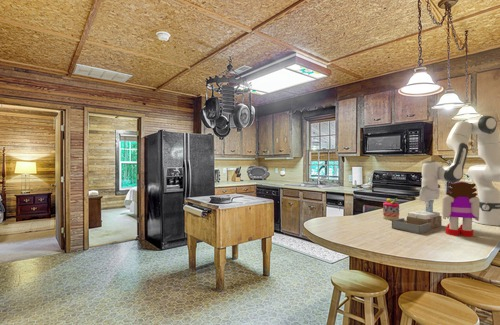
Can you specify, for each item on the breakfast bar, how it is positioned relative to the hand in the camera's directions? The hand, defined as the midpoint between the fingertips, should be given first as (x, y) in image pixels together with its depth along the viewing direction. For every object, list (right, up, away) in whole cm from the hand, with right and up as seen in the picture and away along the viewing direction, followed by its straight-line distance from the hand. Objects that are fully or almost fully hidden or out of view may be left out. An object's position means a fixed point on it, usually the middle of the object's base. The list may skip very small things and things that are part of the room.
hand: (429, 206), depth 180 cm
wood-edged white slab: (-6, -11, -4) cm, 13 cm away
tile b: (-14, -5, -6) cm, 16 cm away
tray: (-20, -11, -14) cm, 27 cm away
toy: (+1, -12, -25) cm, 27 cm away
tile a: (-10, -5, -11) cm, 16 cm away
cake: (-16, -11, +17) cm, 26 cm away
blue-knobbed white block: (-3, -5, -2) cm, 6 cm away
